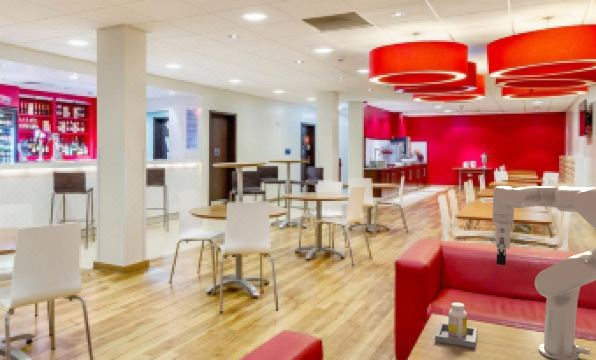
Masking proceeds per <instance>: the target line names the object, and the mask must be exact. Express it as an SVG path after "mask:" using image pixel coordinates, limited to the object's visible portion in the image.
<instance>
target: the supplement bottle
mask: <svg viewBox="0 0 596 360" xmlns="http://www.w3.org/2000/svg"><path fill="white" fill-rule="evenodd" d="M447 324H448V335H449V337H454V338H460V339H465V338H466V335H467V327H468V313H467V311H465V304H464V303H462V302H458V301H457V302H452V303H451V308H450V309H449V311H448V323H447Z"/></svg>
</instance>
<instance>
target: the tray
mask: <svg viewBox="0 0 596 360" xmlns="http://www.w3.org/2000/svg"><path fill="white" fill-rule="evenodd" d="M434 337H435V339H434V343H437V344H444V345H450V346H456V347H461V348H467V349H472V350H473V349H476V345H477V344H476V343H477V338H478V327H471V326H467V335H466V338H465V339H460V338H454V337H449V335H448V323H446V322H439V325H438V328H437V330H436V333H435V336H434Z"/></svg>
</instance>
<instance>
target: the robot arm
mask: <svg viewBox="0 0 596 360" xmlns="http://www.w3.org/2000/svg"><path fill="white" fill-rule="evenodd" d="M492 194H493V195H492V218H491V220H492V222H493V223H495V227H494V229H495V234H494V235H495V248H496V252H497V253H496V264H495V265H498V266H499V265H500V266H506V265H507V264H506V263H507V261H506V260H507V250H510V248H511V247H510V246H511V230H512V229H511V227H512V226H511V224H514V222H515V221H514V220H515V218H514V215H515V209H524V208H525V209H526V208H531V207H546V208H555V209H557V211H559V212H567V213H568V212H569V213H577V214H579V216H580V217H582V218H583V220H585V221H586V222H587V223H588V224H589V225H590V226H591V227H592V228H593V229H595V230H596V187H588V186H586V187H579V186H576V187H575V186H558V187H557V186H523V187H513V186H508V185H497V186H495V187H494V188H493V193H492ZM595 281H596V247H594V248H592V249H589V250H588V251H585V252H580V253H578V254H575V255H572V256H568V257H566V258H565V259H562V260H560V261H558V262H557V263H554V264H553V265H551V266H548V267H547V268H545V269H544V270H542V271H540V272H539V273H538V274H537V275H536V276H535V279H534V286H535V289H536V291H537V292H538V294H540V295H541V296H543V297H544V298H546V301H545V316H544V318H545V319H544V335H543V337H544V338H543V343H541V344H539V346H538V351H539V352H540V353H541V354H542V355H543V356H545V357H547V358H549V359H552V360H579V359H580V354H583V355H587V356H589V355H591V349H590V348H586V346H584V345H578V344H576V323H577V311H578V300H579V296H580V295H579V294H580V290H581V287H582V286H585V285H587V284H590V283H593V282H595Z"/></svg>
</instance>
